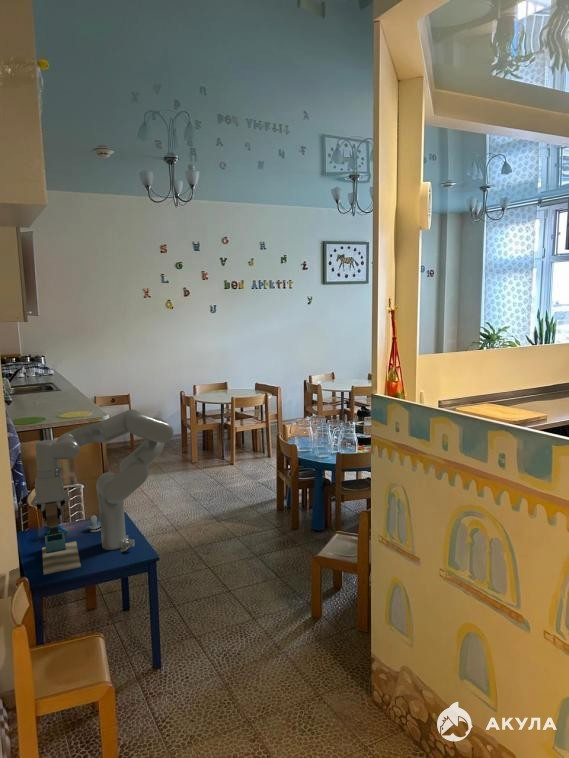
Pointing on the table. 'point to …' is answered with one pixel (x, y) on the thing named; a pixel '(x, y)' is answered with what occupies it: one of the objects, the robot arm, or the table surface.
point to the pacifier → (94, 524)
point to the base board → (61, 559)
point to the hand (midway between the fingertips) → (51, 518)
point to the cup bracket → (55, 540)
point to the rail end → (51, 514)
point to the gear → (59, 529)
